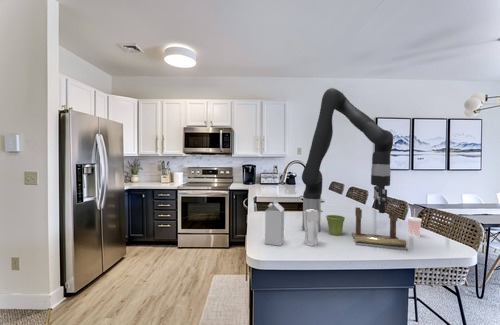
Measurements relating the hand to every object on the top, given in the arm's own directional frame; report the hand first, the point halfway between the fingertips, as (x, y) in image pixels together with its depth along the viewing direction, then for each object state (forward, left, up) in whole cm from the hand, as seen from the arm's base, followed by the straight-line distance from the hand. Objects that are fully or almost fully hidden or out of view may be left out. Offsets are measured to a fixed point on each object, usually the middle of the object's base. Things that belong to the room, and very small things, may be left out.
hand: (379, 211), depth 106 cm
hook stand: (0, +9, -15) cm, 18 cm away
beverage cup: (+20, +21, -16) cm, 33 cm away
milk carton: (-45, -12, -16) cm, 49 cm away
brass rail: (0, 0, -13) cm, 13 cm away
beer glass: (-29, -8, -16) cm, 34 cm away
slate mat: (0, 0, -15) cm, 15 cm away
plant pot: (-18, +12, -16) cm, 27 cm away
